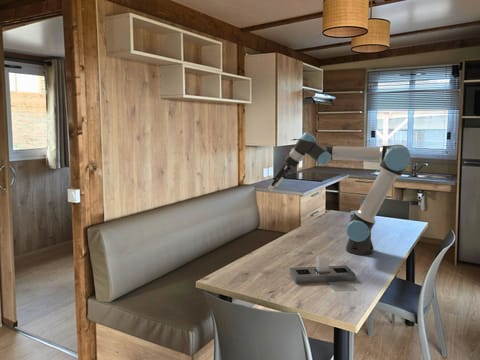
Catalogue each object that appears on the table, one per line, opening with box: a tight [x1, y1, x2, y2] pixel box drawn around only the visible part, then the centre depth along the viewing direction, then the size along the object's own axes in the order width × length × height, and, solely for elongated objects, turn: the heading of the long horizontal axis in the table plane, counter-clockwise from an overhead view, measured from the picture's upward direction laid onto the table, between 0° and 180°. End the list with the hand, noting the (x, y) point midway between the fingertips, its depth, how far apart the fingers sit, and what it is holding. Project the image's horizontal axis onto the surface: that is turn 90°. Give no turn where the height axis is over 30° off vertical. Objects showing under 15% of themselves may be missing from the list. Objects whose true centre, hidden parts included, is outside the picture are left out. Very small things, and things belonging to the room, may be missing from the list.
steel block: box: [315, 254, 330, 274], centre depth 193 cm, size 5×5×10 cm
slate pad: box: [327, 281, 358, 292], centre depth 184 cm, size 10×10×1 cm
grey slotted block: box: [289, 264, 357, 285], centre depth 194 cm, size 28×12×4 cm, turn 96°
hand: (272, 187), depth 234 cm, fingers open, 13 cm apart
